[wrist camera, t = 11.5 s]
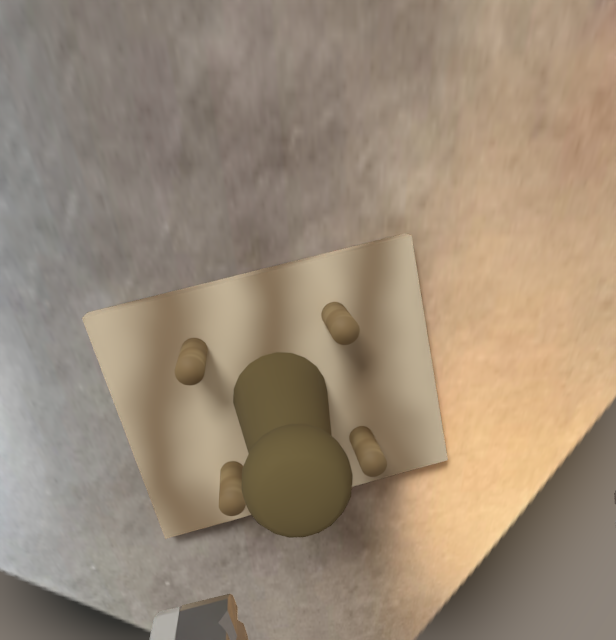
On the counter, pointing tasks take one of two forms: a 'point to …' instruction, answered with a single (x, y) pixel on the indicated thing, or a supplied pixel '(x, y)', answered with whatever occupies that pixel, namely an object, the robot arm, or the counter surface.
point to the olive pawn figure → (290, 447)
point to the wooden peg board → (262, 339)
